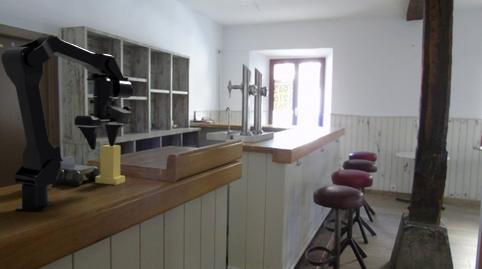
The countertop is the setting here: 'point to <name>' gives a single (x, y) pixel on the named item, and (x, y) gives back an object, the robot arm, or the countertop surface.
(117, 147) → the yellow block on base
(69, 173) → the trolley
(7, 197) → the countertop surface
